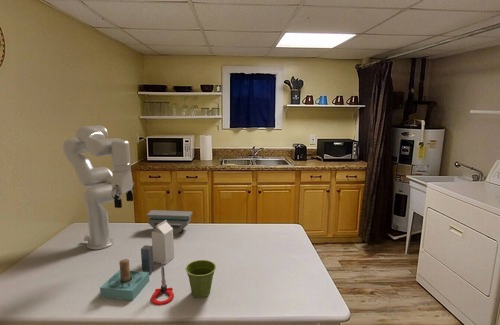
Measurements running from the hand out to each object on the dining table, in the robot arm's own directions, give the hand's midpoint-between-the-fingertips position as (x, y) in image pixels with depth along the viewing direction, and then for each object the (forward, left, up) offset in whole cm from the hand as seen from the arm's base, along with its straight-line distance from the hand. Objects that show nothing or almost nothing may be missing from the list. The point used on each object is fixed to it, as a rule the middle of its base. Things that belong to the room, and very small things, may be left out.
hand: (124, 204), depth 143 cm
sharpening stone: (+5, +38, -29) cm, 48 cm away
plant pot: (+42, -19, -28) cm, 54 cm away
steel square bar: (+14, -8, -28) cm, 33 cm away
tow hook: (+28, -24, -29) cm, 47 cm away
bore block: (+11, -21, -28) cm, 37 cm away
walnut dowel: (+11, -21, -28) cm, 37 cm away
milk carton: (+16, +4, -28) cm, 33 cm away
